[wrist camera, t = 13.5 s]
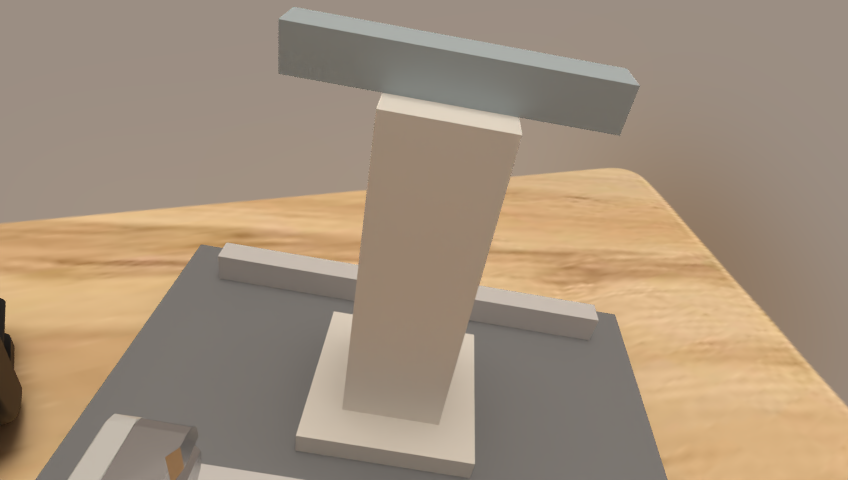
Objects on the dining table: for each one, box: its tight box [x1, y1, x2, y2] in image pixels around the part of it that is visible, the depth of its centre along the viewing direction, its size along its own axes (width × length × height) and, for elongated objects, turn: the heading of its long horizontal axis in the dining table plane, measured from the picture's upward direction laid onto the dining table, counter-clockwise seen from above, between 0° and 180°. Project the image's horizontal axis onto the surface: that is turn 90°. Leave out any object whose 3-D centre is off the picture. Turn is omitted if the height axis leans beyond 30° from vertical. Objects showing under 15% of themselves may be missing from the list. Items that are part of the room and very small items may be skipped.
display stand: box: [279, 7, 640, 478], centre depth 20 cm, size 7×10×16 cm
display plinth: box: [36, 243, 667, 480], centre depth 24 cm, size 24×16×3 cm, turn 86°
